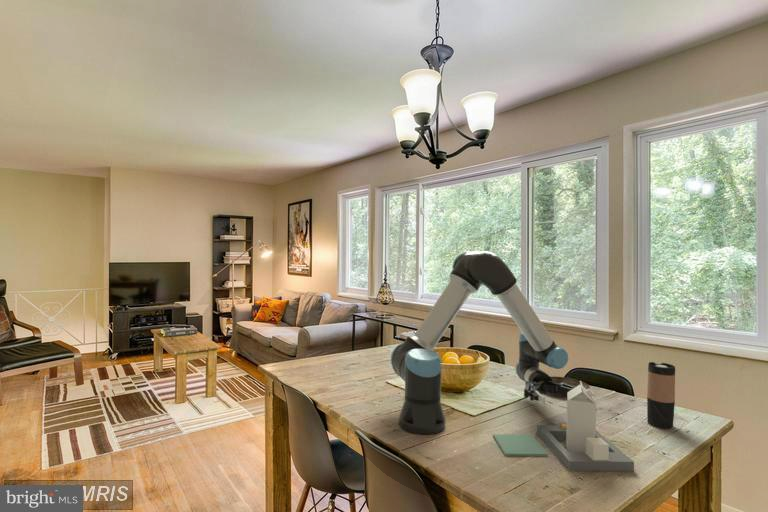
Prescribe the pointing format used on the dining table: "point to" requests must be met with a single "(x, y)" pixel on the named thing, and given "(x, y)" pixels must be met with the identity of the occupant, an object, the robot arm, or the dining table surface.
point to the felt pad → (519, 445)
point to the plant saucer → (569, 382)
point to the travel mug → (661, 395)
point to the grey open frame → (596, 455)
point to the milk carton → (580, 418)
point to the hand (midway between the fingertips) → (565, 402)
